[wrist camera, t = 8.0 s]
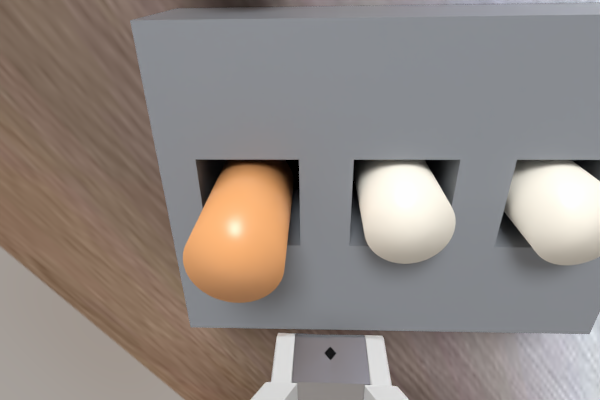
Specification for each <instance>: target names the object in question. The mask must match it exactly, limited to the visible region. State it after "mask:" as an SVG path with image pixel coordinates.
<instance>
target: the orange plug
mask: <svg viewBox="0 0 600 400" xmlns="http://www.w3.org/2000/svg"><path fill="white" fill-rule="evenodd" d="M293 187H294V178H293V173H292V170H291V168H290V166H289V165H288V163H287V162H286V161H285V160H227V161H226V162H225V164H224V166H223V168H222V170H221V172H220V174H219V176H218V178H217V181H216V183H215V185H214V187H213V189H212V191H211V193H210V195H209V197H208V199H207V201H206V203H205V205H204V208H203V210H202V212H201V214H200V216H199V218H198V220H197V222H196V224H195V226H194V228H193V230H192V232H191V234H190V237H189V239H188V241H187V243H186V245H185V248H184V251H183V264H184V268H185V271H186V273H187V275H188V277H189V278H190V280H191V281H192V282H193V283H194V285H196V286H197V287H198V288H199V289H200V290H201V291H203V292H204V293H206V294H207V295H209V296H211V297H213V298H216V299H219V300H222V301H226V302H233V303H245V302H252V301H256V300H259V299H261V298H263V297H265V296H267V295H269V294H270V293H271V292H272V291H274V290H275V289H276V287H277V286H278V285H279V283H280V282H281V280H282V277H283V274H284V269H285V260H286V250H287V241H288V232H289V223H290V214H291V205H292V196H293Z"/></svg>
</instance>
